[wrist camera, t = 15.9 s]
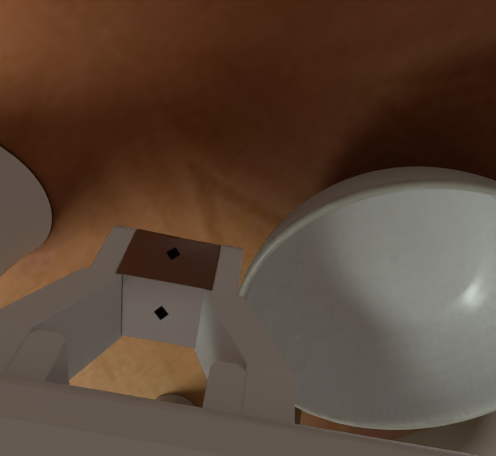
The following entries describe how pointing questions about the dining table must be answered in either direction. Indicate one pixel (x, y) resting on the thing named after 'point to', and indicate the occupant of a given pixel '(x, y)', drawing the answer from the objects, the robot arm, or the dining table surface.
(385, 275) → the decorative bowl
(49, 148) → the dining table surface
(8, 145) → the dining table surface
